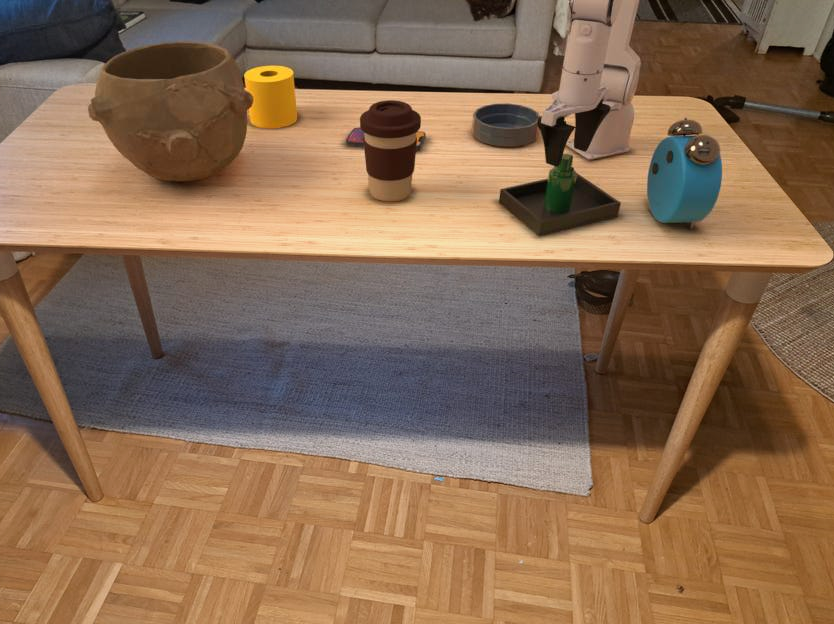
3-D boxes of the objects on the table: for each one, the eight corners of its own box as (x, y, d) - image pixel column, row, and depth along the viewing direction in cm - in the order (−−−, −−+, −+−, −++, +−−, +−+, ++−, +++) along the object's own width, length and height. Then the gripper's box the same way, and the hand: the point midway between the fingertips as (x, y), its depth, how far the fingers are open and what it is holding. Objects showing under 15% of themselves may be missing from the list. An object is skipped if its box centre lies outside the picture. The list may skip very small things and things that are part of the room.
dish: (514, 118, 143) (517, 99, 141) (550, 141, 134) (553, 121, 131) (460, 129, 140) (461, 109, 137) (492, 153, 130) (495, 133, 128)
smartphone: (354, 131, 140) (354, 126, 139) (426, 136, 136) (426, 131, 136) (344, 146, 134) (344, 141, 133) (419, 152, 131) (419, 146, 130)
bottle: (560, 198, 115) (569, 148, 110) (575, 209, 112) (586, 159, 107) (538, 203, 114) (546, 153, 108) (553, 215, 111) (562, 164, 105)
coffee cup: (424, 203, 116) (427, 116, 106) (366, 209, 115) (364, 121, 105) (411, 177, 123) (413, 94, 113) (357, 182, 122) (355, 98, 112)
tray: (573, 185, 120) (575, 172, 118) (617, 216, 111) (621, 202, 110) (498, 202, 116) (500, 188, 114) (538, 236, 107) (541, 222, 106)
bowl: (80, 175, 127) (44, 63, 113) (204, 128, 142) (186, 25, 129) (164, 223, 112) (135, 102, 99) (292, 165, 128) (281, 54, 115)
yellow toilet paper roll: (243, 126, 143) (236, 80, 136) (259, 108, 150) (254, 64, 144) (288, 130, 141) (284, 83, 135) (303, 111, 148) (299, 67, 142)
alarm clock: (705, 238, 106) (737, 145, 96) (665, 239, 106) (694, 147, 96) (674, 198, 116) (700, 110, 106) (638, 199, 116) (661, 111, 106)
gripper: (587, 51, 105) (572, 136, 114) (530, 74, 98) (518, 163, 107) (628, 61, 101) (608, 148, 110) (571, 86, 94) (555, 177, 103)
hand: (566, 156), depth 108 cm, fingers open, 7 cm apart
